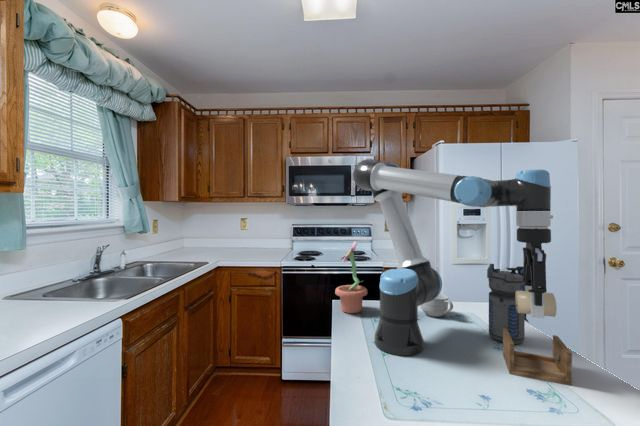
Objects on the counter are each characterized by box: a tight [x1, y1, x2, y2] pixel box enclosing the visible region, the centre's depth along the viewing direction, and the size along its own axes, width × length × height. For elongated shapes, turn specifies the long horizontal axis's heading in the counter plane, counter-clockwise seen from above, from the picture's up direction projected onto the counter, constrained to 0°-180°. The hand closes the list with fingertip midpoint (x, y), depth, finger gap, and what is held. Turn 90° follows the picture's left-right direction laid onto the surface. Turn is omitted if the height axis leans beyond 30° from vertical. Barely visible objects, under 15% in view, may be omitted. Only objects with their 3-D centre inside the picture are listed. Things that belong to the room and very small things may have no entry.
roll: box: [515, 290, 557, 318], centre depth 80 cm, size 8×6×6 cm
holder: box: [502, 328, 573, 387], centre depth 80 cm, size 13×11×8 cm
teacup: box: [420, 293, 454, 318], centre depth 121 cm, size 14×11×8 cm
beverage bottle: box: [486, 263, 529, 345], centre depth 99 cm, size 10×13×25 cm
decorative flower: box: [334, 240, 368, 314], centre depth 128 cm, size 15×14×30 cm
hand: (534, 313), depth 80 cm, fingers closed on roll, 6 cm apart
